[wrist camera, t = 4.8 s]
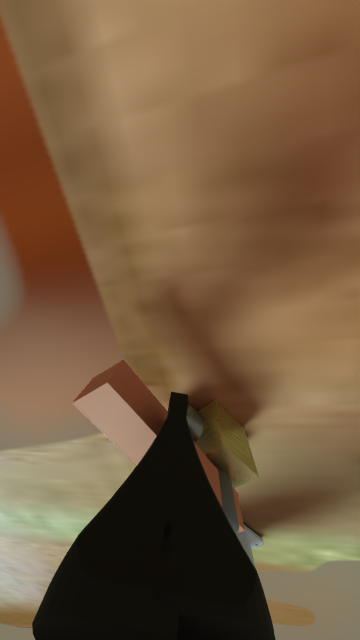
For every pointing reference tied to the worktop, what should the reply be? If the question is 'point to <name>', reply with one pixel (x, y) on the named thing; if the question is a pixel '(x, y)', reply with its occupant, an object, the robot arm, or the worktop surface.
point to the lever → (143, 426)
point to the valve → (222, 441)
